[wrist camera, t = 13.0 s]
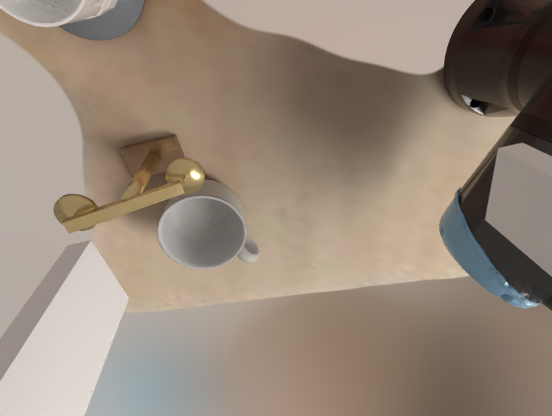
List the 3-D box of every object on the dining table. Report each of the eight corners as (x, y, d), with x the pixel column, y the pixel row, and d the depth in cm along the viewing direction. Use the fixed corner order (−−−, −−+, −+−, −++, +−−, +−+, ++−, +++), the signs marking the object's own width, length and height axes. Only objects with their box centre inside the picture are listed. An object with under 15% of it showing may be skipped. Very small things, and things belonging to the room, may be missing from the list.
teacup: (152, 202, 45) (137, 236, 38) (206, 153, 42) (200, 180, 35) (223, 256, 52) (221, 294, 45) (275, 217, 49) (280, 251, 42)
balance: (205, 127, 40) (190, 179, 28) (214, 156, 42) (205, 216, 30) (93, 153, 41) (30, 215, 29) (108, 181, 43) (56, 249, 31)
